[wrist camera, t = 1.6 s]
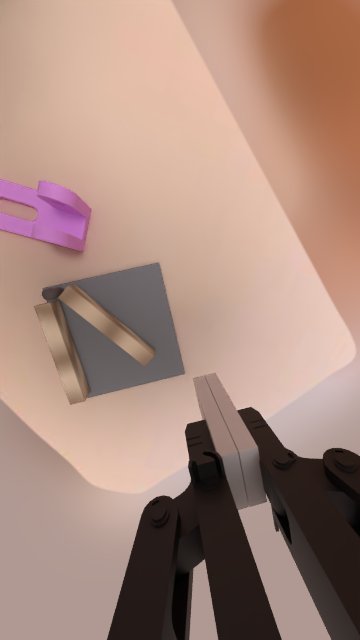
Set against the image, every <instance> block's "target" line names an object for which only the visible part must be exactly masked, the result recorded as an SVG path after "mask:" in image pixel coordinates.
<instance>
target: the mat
mask: <svg viewBox="0 0 360 640" xmlns="http://www.w3.org/2000/svg"><path fill="white" fill-rule="evenodd" d="M70 285H77V286H78V287H79V288H80V289H81V290H83V291H84V292H85V293H86V294H88V295H89V296H90V297H91V298H92V299H94V300H95V301H96V302H97V303H99V304H100V305H101V306H102V307H103V308H105V309H106V310H107V311H108V312H109V313H111V314H112V315H113V316H114V317H116V318H117V319H118V320H119V321H120V322H122V323H123V324H124V325H125V326H127V327H128V328H129V329H130V330H131V331H133V332H134V333H135V334H136V335H137V336H139V337H140V338H141V339H142V340H144V341H145V342H146V343H147V344H148V345H150V346H151V347H152V348H153V349H155V354H154V357H153V358H152V359H151V360H150V361H149V362H148V363H147V364H146V365H145V366H144V365H142V364H141V363H140V362H139V361H137V360H136V359H135V358H134V357H132V356H131V355H130V354H129V353H127V352H126V351H125V350H123V349H122V348H121V347H120V346H118V345H117V344H116V343H115V342H113V341H112V340H111V339H110V338H108V337H107V336H106V335H105V334H103V333H102V332H101V331H99V330H98V329H97V328H96V327H94V326H93V325H92V324H91V323H89V322H88V321H87V320H86V319H84V318H83V317H82V316H81V315H79V314H78V313H77V312H75V311H74V310H73V309H72V308H70V307H69V306H68V305H67V304H65V303H64V302H63V301H62V300H60V299H59V298H57V299H53V300H47V303H49V302H54V301H58V300H59V302H60V305H61V307H62V310H63V313H64V316H65V319H66V322H67V325H68V328H69V331H70V334H71V337H72V340H73V343H74V345H75V348H76V351H77V354H78V357H79V360H80V363H81V366H82V369H83V372H84V375H85V378H86V381H87V383H88V386H89V389H90V393H89V395H88V397H87V398H89V397H93V396H97V395H101V394H105V393H109V392H113V391H117V390H121V389H125V388H130V387H134V386H138V385H142V384H146V383H150V382H154V381H158V380H162V379H166V378H170V377H174V376H178V375H182V374H185V372H184V368H183V364H182V359H181V355H180V351H179V347H178V342H177V338H176V334H175V329H174V325H173V321H172V317H171V312H170V308H169V304H168V299H167V295H166V291H165V286H164V282H163V278H162V274H161V269H160V265H159V263H155V264H150V265H146V266H141V267H137V268H132V269H128V270H123V271H119V272H114V273H110V274H105V275H101V276H96V277H92V278H87V279H83V280H78V281H74V282H69V283H65V284H60V285H56V286H51V287H47V288H42V289H43V290H44V289H48V288H56V287H61V288H63V289H64V290H65V289H66V288H67V287H68V286H70Z"/></svg>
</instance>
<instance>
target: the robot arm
mask: <svg viewBox="0 0 360 640" xmlns="http://www.w3.org/2000/svg"><path fill="white" fill-rule="evenodd" d="M193 380H194V385H195V389H196V394H197V398H198V403H199V407H200V411H201V415H202V419H203V420H201V421H197V422H194V423H190V424H187V427H186V430H185V435H186V441H187V447H188V453H189V459H190V460H189V465H188V468H189V472H190V476H191V482H190V485H189V486H188V488H187V489H186V490H185V491H184V492H183V493H182V494H180V495H179V496H177V497H176V498H174V499H172V498H170V497H169V496H159V497H156V498H154V499H153V500H152V501H150V502H149V503H148V504H147V506H146V507H145V508H144V511H143V513H142V515H141V519H140V522H139V526H138V530H137V533H136V537H135V541H134V545H133V548H132V551H131V555H130V559H129V563H128V566H127V570H126V573H125V577H124V580H123V584H122V588H121V591H120V595H119V599H118V602H117V606H116V609H115V613H114V616H113V620H112V624H111V627H110V631H109V635H108V638H107V640H189V633H190V617H191V616H190V615H191V599H192V582H193V568H194V567H195V566H197V565H198V564H199V563H200V562H202V561H203V560H204V559H205V562H206V568H207V574H208V580H209V586H210V592H211V598H212V604H213V610H214V616H215V622H216V628H217V634H218V640H282V639H281V636H280V634H279V631H278V628H277V625H276V622H275V619H274V616H273V613H272V610H271V607H270V604H269V601H268V598H267V595H266V593H265V589H264V586H263V583H262V581H261V577H260V575H259V572H258V569H257V566H256V563H255V560H254V557H253V554H252V551H251V548H250V545H249V543H248V540H247V536H246V533H245V530H244V527H243V524H242V522H241V519H240V516H239V513H238V510H239V509H243V508H247V507H248V505H249V506H254V505H258V504H261V503H265V502H267V499H266V494H267V497H268V499H269V501H270V503H271V507H272V513H273V518H274V525H275V529H276V532H277V531H279V529H280V531H281V533H282V535H283V537H284V540H285V542H286V544H287V546H288V548H289V550H290V552H291V554H292V557H293V559H294V561H295V563H296V565H297V567H298V569H299V571H300V574H301V576H302V578H303V580H304V582H305V584H306V586H307V588H308V591H309V593H310V595H311V597H312V599H313V601H314V603H315V606H316V608H317V610H318V612H319V614H320V616H321V618H322V620H323V622H324V624H325V627H326V629H327V631H328V633H329V635H330V637H331V640H360V456H358V455H357V454H355V453H353V452H351V451H349V450H346V449H342V448H332V449H329V450H327V451H326V452H325V453H324V454H323V459H309V458H302V457H298V456H297V455H296V454H294V452H292V451H290V450H288V449H286V448H285V447H284V446H283V445H282V443H281V442H280V441H279V440H278V438H277V436H276V435H275V434H274V432H273V431H272V429H271V428H270V427H269V426H268V424H267V423H266V421H265V420H264V418H263V417H262V416H261V414H260V413H259V412H258V411H257V410H255V409H253V408H252V407H249V408H245V409H241V410H236V408H235V406H234V405H233V403H232V401H231V399H230V398H229V396H228V394H227V392H226V391H225V389H224V387H223V386H222V384H221V382H220V380H219V379H218V377H217V375H216V373H213V374H209V375H205V377H204V376H201V377H197V378H193ZM278 527H279V528H278Z"/></svg>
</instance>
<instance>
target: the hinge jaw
mask: <svg viewBox="0 0 360 640" xmlns="http://www.w3.org/2000/svg"><path fill="white" fill-rule="evenodd" d="M58 298H59V299H60V300H62V301H63V302H64V303H65V304H67V305H68V306H69V307H70V308H72V309H73V310H74V311H75V312H77V313H78V314H79V315H81V316H82V317H83V318H84V319H86V320H87V321H88V322H89V323H91V324H92V325H93V326H94V327H96V328H97V329H98V330H99V331H101V332H102V333H103V334H105V335H106V336H107V337H108V338H110V339H111V340H112V341H113V342H115V343H116V344H117V345H118V346H120V347H121V348H122V349H123V350H125V351H126V352H127V353H129V354H130V355H131V356H132V357H134V358H135V359H136V360H137V361H139V362H140V363H141V364H142V365H144V366H145V365H146V364H147V363H148V362H149V361H150V360H151V359H152V358H153V357H154V354H155V349H153V348H152V347H151V346H150V345H148V344H147V343H146V342H145V341H144V340H142V339H141V338H140V337H139V336H137V335H136V334H135V333H134V332H133V331H131V330H130V329H129V328H128V327H127V326H125V325H124V324H123V323H122V322H120V321H119V320H118V319H117V318H116V317H114V316H113V315H112V314H111V313H109V312H108V311H107V310H106V309H105V308H103V307H102V306H101V305H100V304H99V303H97V302H96V301H95V300H94V299H92V298H91V297H90V296H89V295H88V294H86V293H85V292H84V291H83V290H81V289H80V288H79V287H78V286H77V285H70V286H68V287H67V288H66V289H65V290H64V291H63V293H62V294H61V295H60V296H59V297H58Z"/></svg>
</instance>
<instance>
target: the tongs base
mask: <svg viewBox="0 0 360 640" xmlns="http://www.w3.org/2000/svg"><path fill="white" fill-rule="evenodd" d="M63 291H64V289H63V288H61V287H56V288H48V289H44V290H43V292H42V296H43V298H44V299H46V300H53V299H57V298H58V297H59V296H60V295H61V294H62V293H63ZM34 308H35V310H36V313H37V316H38V319H39V321H40V324H41V327H42V329H43V332H44V335H45V337H46V340H47V343H48V346H49V348H50V351H51V354H52V356H53V359H54V362H55V365H56V367H57V370H58V373H59V375H60V378H61V381H62V383H63V386H64V389H65V392H66V394H67V397H68V400H69V402H70V405H71V404H75V403H79V402H83V401H85V400H86V398H87V397H88V395H89V393H90V389H89V386H88V383H87V381H86V378H85V375H84V372H83V369H82V366H81V363H80V360H79V357H78V354H77V351H76V348H75V345H74V343H73V340H72V337H71V334H70V331H69V328H68V325H67V322H66V319H65V316H64V313H63V310H62V307H61V305H60V302H59V300H58V301H54V302H49V303H45V304H41V305H37V306H34Z"/></svg>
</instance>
